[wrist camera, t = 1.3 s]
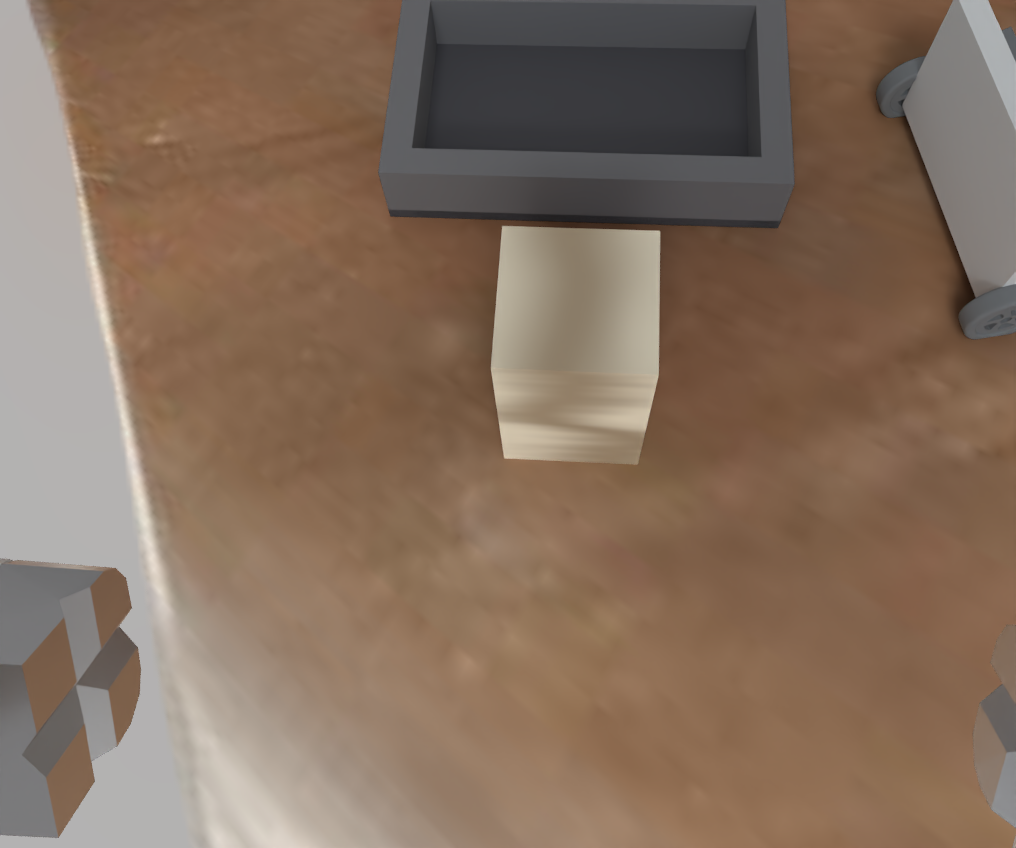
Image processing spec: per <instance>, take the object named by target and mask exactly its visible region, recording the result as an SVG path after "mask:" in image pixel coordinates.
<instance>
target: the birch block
mask: <svg viewBox="0 0 1016 848" xmlns="http://www.w3.org/2000/svg"><path fill="white" fill-rule="evenodd" d="M659 302H660V231H650V230H618V229H585V228H553V227H521V226H502V236H501V248H500V260H499V273H498V285H497V297H496V310H495V322H494V335H493V347H492V359H491V373H492V379H493V386H494V393H495V400H496V407H497V413H498V420H499V427H500V434H501V440H502V447H503V454H504V458H508V459H529V460H551V461H572V462H593V463H614V464H635V465H638V462H639V458H640V453H641V449H642V445H643V440H644V436H645V432H646V427H647V423H648V419H649V415H650V410H651V406H652V402H653V397H654V393H655V389H656V384H657V380H658V376H659Z"/></svg>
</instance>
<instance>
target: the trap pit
mask: <svg viewBox="0 0 1016 848" xmlns="http://www.w3.org/2000/svg"><path fill="white" fill-rule="evenodd" d="M378 173H379V177H380V180H381V184H382V188H383V191H384V195H385V198H386V202H387V206H388V209H389V213H390V216H395V217H428V218H460V219H493V220H526V221H559V222H592V223H625V224H658V225H691V226H724V227H757V228H778V227H779V224H780V221H781V219H782V216H783V213H784V211H785V208H786V205H787V203H788V200H789V197H790V195H791V192H792V190H793V187H794V184H795V182H794V162H793V142H792V122H791V102H790V83H789V63H788V43H787V23H786V3H785V0H402V6H401V13H400V21H399V28H398V35H397V42H396V49H395V56H394V64H393V71H392V78H391V85H390V92H389V99H388V107H387V114H386V121H385V128H384V135H383V142H382V150H381V157H380V164H379V171H378Z"/></svg>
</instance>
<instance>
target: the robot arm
mask: <svg viewBox="0 0 1016 848" xmlns="http://www.w3.org/2000/svg"><path fill="white" fill-rule="evenodd" d="M131 608H132V607H131V601H130V596H129V591H128V586H127V581H126V578H125V577H124V576H123V575H122V574H121V573H120V572H119V571H118V570H117V569H116V568H107V567H96V566H83V565H71V564H59V563H46V562H35V561H23V560H16V561H12V560H10V559H0V835H12V836H32V837H52V838H59V836H60V834H61V833H62V831H63V830H64V828H65V827H66V825H67V824H68V822H69V821H70V819H71V817H72V816H73V814H74V813H75V811H76V810H77V808H78V807H79V805H80V803H81V802H82V800H83V799H84V797H85V796H86V794H87V793H88V791H89V790H90V788H91V786H92V785H93V783H94V782H95V780H94V774H93V769H92V763H91V761H93V760H95V759H96V758H98V757H100V756H101V755H103V754H105V753H106V752H108V751H110V750H111V749H113V748H115V747H117V746H118V744H119V742H120V741H121V739H122V737H123V735H124V734H125V732H126V731H127V729H128V727H129V726H130V724H131V721H132V718H133V714H134V711H135V708H136V704H137V701H138V697H139V694H140V675H141V674H140V673H141V667H140V660H139V653H138V647H137V646H136V645H135V644H134V643H133V642H132V640H130V638H129V637H128V636H127V635H126V634H125V633H124V632H123V631H122V629H121V628H120V627H119V626H120V624H121V623H122V621H123V620H124V619H125V617H126V616H127V614H128V613H129V611H130V610H131ZM990 663H991V665H992V667H993V668H994V670H995V672H996V673H997V675H998V677H999V679H1000V680H1001V682H1002V685H1001V686H999V687H998V688H997V689H996V690H995V691H993V692H992V693H991V694H990V695H989V696H987V697H986V698H985V699H984V700H983V701H981V702H980V703H979V708H978V712H977V717H976V721H975V726H974V730H973V752H974V766H975V770H976V773H977V777H978V781H979V785H980V788H981V790H982V792H983V794H984V796H985V798H986V800H987V802H988V804H989V806H990V808H991V810H992V811H994V812H995V813H996V814H998V815H999V816H1000V817H1002V818H1003V819H1004V820H1006V821H1007V822H1008V823H1010V824H1011V825H1012V826H1014V827H1015V828H1016V625H1006V627H1005V628H1004V630H1003V631H1002V633H1001V634H1000V636H999V637H998V639H997V641H996V645H995V648H994V652H993V655H992V659H991V662H990ZM1012 848H1016V836H1015V840H1014V843H1013V846H1012Z"/></svg>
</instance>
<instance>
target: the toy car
mask: <svg viewBox="0 0 1016 848" xmlns="http://www.w3.org/2000/svg"><path fill="white" fill-rule="evenodd" d="M876 98H877V101H878V104H879V107H880V110H881V112H882V113H883V114H884V115H885V116H886V117H888V118H895V117H901V116H906V117H907V120H908V122H909V125H910V128H911V130H912V133H913V135H914V138H915V141H916V143H917V146H918V148H919V151H920V154H921V156H922V159H923V161H924V164H925V167H926V169H927V172H928V174H929V177H930V180H931V182H932V185H933V188H934V190H935V193H936V195H937V198H938V201H939V203H940V206H941V208H942V211H943V214H944V216H945V219H946V221H947V224H948V227H949V229H950V232H951V234H952V237H953V240H954V242H955V245H956V247H957V250H958V253H959V255H960V258H961V260H962V263H963V266H964V268H965V271H966V273H967V276H968V279H969V281H970V284H971V286H972V289H973V292H974V294H975V297H976V298H975V299H973V300H972V301H970V302H969V303H968V304H966V305H965V306H964V307H963V308H962V310H961V311H960V313H959V322H960V324H961V327H962V330H963V332H964V334H965V336H967V337H968V338H970V339H981V338H987V337H993V336H1000V335H1006V334H1012V333H1015V332H1016V36H1015V34H1014V32H1013V30H1012V27H1009V28H1007V29H1004V30H1001V28H1000V26H999V24H998V22H997V19H996V17H995V15H994V13H993V10H992V8H991V6H990V4H989V1H988V0H953V2H952V4H951V6H950V8H949V10H948V12H947V14H946V16H945V18H944V20H943V22H942V24H941V27H940V29H939V31H938V33H937V35H936V37H935V39H934V41H933V43H932V45H931V47H930V49H929V51H928V53H927V55H926V56H923V57H918V58H915V59H912V60H909V61H907V62H905V63H903V64H901V65H899V66H898V67H896V68H895V69H893V70H892V71H891V72H889V73H888V74H887V75H886V76H885V77H884V78H883V80H882V81H881V82H880V84H879V86H878V88H877V91H876Z"/></svg>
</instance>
